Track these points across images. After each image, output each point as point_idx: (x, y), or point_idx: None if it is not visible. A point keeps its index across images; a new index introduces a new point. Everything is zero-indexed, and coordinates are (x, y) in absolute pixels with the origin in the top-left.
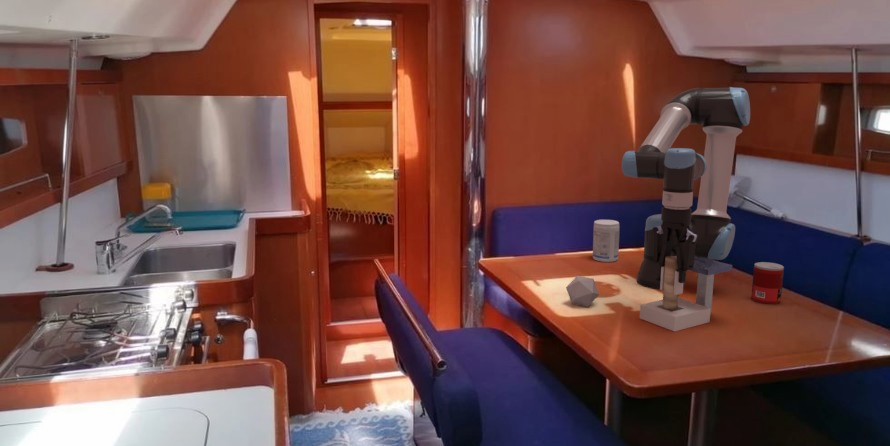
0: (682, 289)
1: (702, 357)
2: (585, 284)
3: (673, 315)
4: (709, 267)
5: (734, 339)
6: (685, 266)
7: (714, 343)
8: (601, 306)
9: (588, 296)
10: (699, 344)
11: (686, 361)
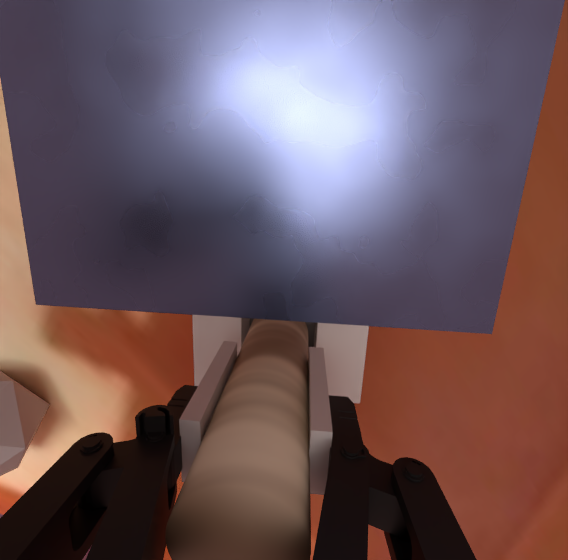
0: (323, 360)
1: (518, 467)
2: None
3: (344, 394)
4: (451, 246)
5: (519, 280)
6: (406, 549)
7: (490, 360)
8: (63, 370)
9: (29, 442)
10: (462, 400)
11: (501, 514)
